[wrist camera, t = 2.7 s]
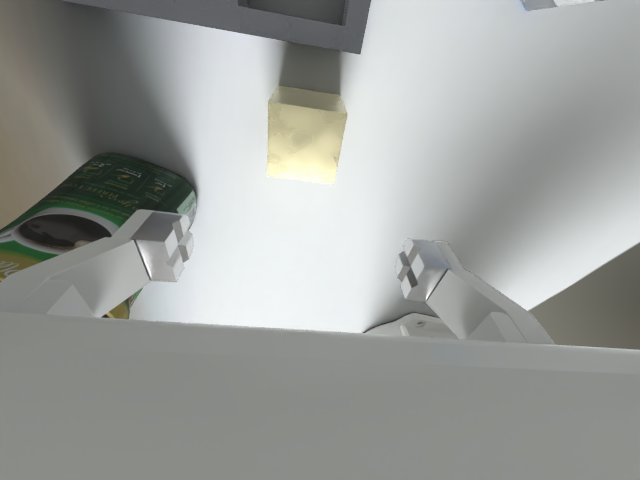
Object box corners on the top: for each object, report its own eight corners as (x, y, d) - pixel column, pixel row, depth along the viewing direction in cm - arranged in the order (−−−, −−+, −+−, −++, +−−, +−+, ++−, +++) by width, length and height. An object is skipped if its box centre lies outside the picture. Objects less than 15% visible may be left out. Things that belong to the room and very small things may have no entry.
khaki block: (340, 94, 21) (347, 113, 16) (329, 154, 24) (333, 184, 20) (278, 84, 21) (268, 101, 16) (276, 147, 24) (267, 176, 19)
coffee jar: (100, 207, 27) (-136, 406, 13) (92, 137, 23) (-282, 324, 8) (195, 235, 30) (87, 426, 16) (205, 178, 25) (67, 372, 11)
